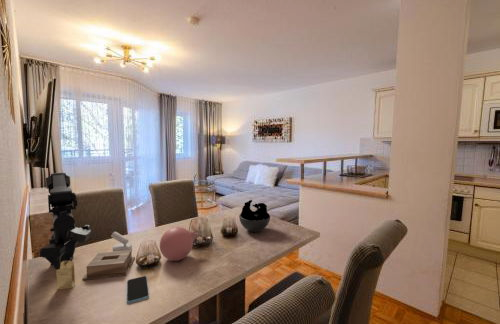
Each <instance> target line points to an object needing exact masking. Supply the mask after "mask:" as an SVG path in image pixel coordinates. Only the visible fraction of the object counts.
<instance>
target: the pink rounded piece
mask: <svg viewBox="0 0 500 324" xmlns="http://www.w3.org/2000/svg"><path fill="white" fill-rule="evenodd" d="M197 236H201V233H200V232H196V231H195V230H192V231H189V230H188V229H186V228H185V227H182V226H175V227H171V228H169V229H168V230H166V231H165V232H164V233H163V234H162V236H161V237H160V240H159V241H160V242H159V251H160V253H161V255H162V256H163V257H164V258H165V259H167V260H169V261H175V262H176V261H180V260H183V259H184V258H186V257H187V256H188V255H189V254H190V253H191V252H192V249H193V245H194V241H195V240H196V239H197Z"/></svg>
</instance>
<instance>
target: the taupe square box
mask: <svg viewBox="0 0 500 324" xmlns="http://www.w3.org/2000/svg"><path fill="white" fill-rule="evenodd" d="M132 255H133V254H132V249H131V250H125V251H113V250H112V251H105V252H104V251H103V252H102V251H101V252H98V253H97V254H96V255H95V256H94V257H93V258H92V260H91V261H90V262H89V263H88V264H87V265H86V273H85V275H84V276H83V278H82V281H89V280H90V281H92V280H99V279H108V278H118V277H126V276H127V274H128V272H129V270H130V268H131V267H132V264H133V263H134V260H135V258H136V257H135V256H132Z"/></svg>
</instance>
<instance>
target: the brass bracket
mask: <svg viewBox="0 0 500 324" xmlns="http://www.w3.org/2000/svg"><path fill="white" fill-rule="evenodd" d="M55 272H56V274H55V275H56V288H57V290H66V289H73V288H74V286H76V276H75V274H76V273H75V263H74V262H73V261H72V260H64V261H62V262H61V266H60V269H58V270H56V269H55Z"/></svg>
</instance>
